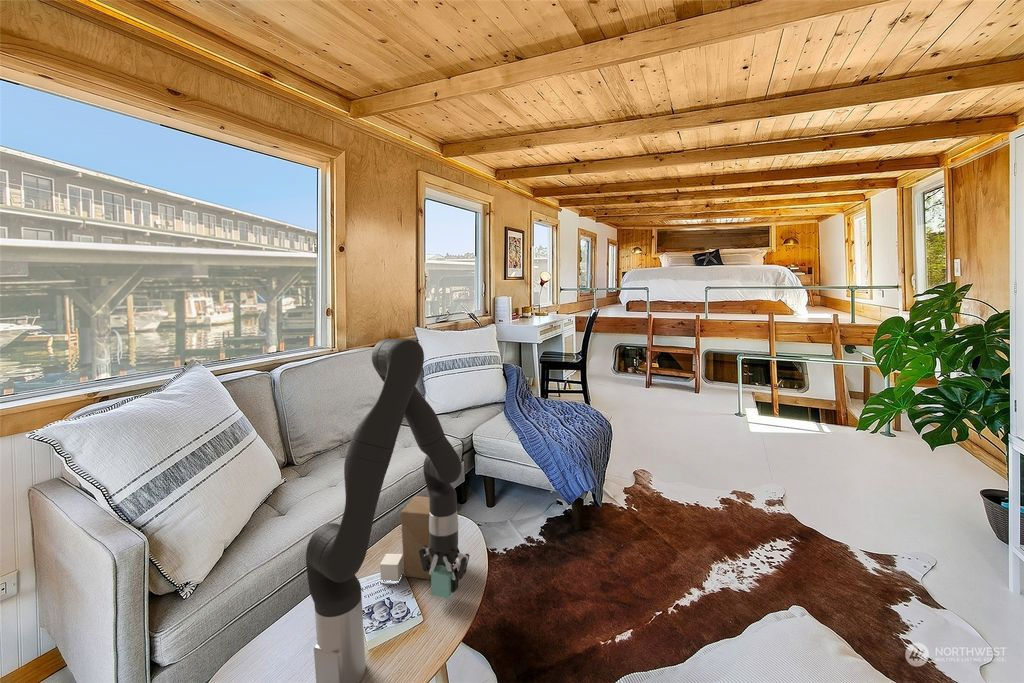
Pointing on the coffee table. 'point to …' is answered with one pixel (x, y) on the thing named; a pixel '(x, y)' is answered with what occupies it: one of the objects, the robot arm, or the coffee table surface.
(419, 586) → the coffee table surface
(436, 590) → the teal block
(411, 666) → the coffee table surface
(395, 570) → the cream block
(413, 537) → the wooden block
